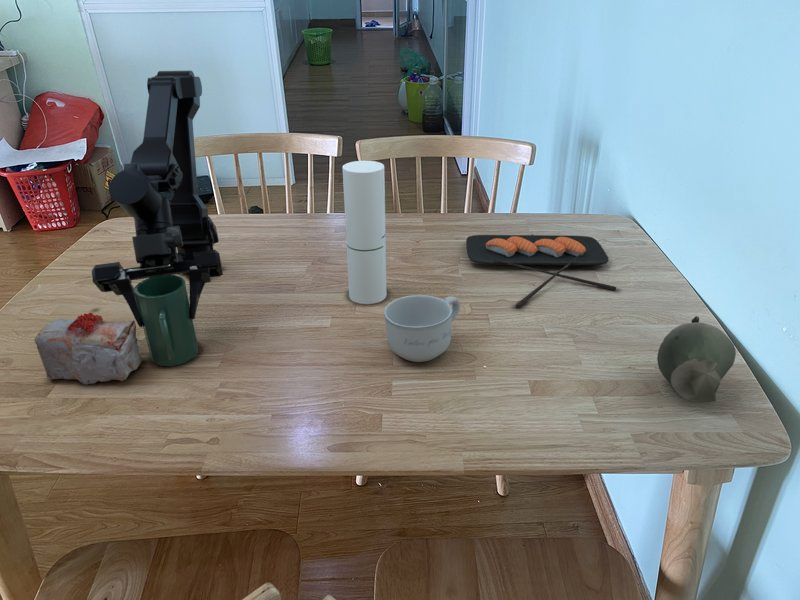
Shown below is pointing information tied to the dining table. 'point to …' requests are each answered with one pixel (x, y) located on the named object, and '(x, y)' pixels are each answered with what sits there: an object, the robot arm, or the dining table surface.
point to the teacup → (420, 326)
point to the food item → (88, 349)
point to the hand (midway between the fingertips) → (167, 322)
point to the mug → (167, 319)
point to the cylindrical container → (365, 230)
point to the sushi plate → (537, 253)
